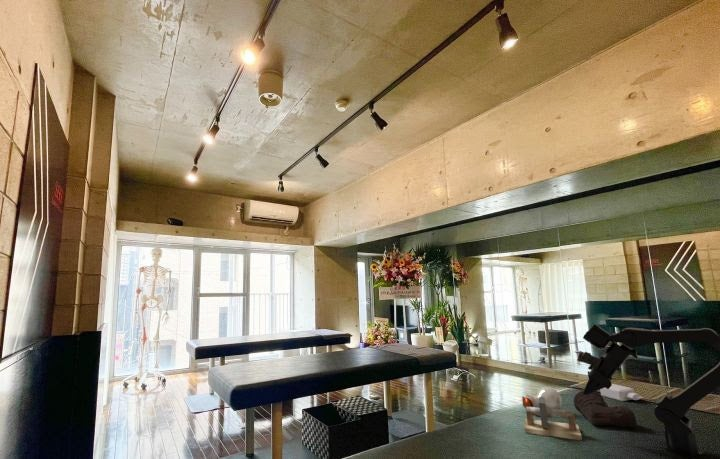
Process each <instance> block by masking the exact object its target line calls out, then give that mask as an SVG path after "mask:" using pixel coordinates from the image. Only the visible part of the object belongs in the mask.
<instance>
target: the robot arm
mask: <svg viewBox="0 0 720 459" xmlns="http://www.w3.org/2000/svg"><path fill="white" fill-rule="evenodd" d="M582 339H583V340H585V341H586V342H587V343H589V344H590V345H592V346H593V347H595V348H596V349H597V350H601V349H602V350H605V349H606V348H607V349H606V350H605V351H604V352H603V354H599V356H596V355H593V354H591V352H588V351H581V350H580V351H579V352H578V354H577V359H576V361H577V362H580V363H584V364H587V365H589V366H588V367H587V369H588V370H587V376H588V379H587V381H586V384H585V386H584V388H583V390H582V391H583V394H584V395H587V394H590V393H592V392H597V391H600V389H602V388H607V389H609V388H610V387H611V386H612V384H613V383H612V380H613V377H614V375H615V374H616V373H617V372H620V369H621V367H622V366H623V364H624V363H625V362H626V361H627V360H628V359H629V358H630V356H632V357H633V358H635V359H638V358H639V356H638V354H637V351H638V350H637V349H632V348H636V347H640V346H641V347H642V346H643V347H644V346H648V345H652V344H663V343H664V344H666V343H667V344H677V343H683V344H685V343H706V344H707V345H709V346H711V347H712V348H713V349H716V350H717V351H719V352H720V334H719V333H717V331H715V330H713V329H711V328H709V327H702V328H692V329H691V328H690V329H689V328H686V329H685V328H684V329H683V328H682V329H654V330H653V329H646V328H639V327H625V328H623V329H621V331H620V332H613V333H610V332H608V331H607V330H605V329H603V328H602V327H601V326H599V325H598V324H596V323H595V324H593V325H592V326H591V328H590V329H589V330H588V331H586V332H585V334H584V335H583V336H582ZM618 343H620V344H621V345H620V344H618ZM609 344H610V345H609ZM589 370H590V371H589ZM718 388H720V361H719V362H718V364H717V365H716V366H714V367H713V368H712V369H710V370H709V371H708V372H706V373H704V374H703V375H702V376H700V377H699V378H697V380H695V381H694V382H692V383H690V385H688V386H687V387H686V388H684V389H683V390H682V391H680V392H679V393H676V394H674V395H671V393H670V392H669V391H667V392H666V393H665V394H664V395H663V396H662V397H659V398H657V400H656V402H655V407H654V413H653V414H654V416H655V418H656V419H657V420H658V421H659V422H660V423H662V424H663V426H664V430H663V435H664V439H665V444H666V446H663V448H664V450H667V451H670V452H672V453H675V454H678V455H680V456H683V457H685V458H692V457H693V458H694V457H698V456H703V455H704V453H703V452H702V451H700V450H699V448H698V443H697V437H696V432H695V431H692V430H691V428H692V420H691V419H690V418H689V417H687V415H686V414H687V413H688V411H689V410H690V408H691V407H693V406H694V405H696V404H697V403H698V402H700V401H701V400H703V399H704V398H706V397H707V396H708V395H710V394H712V393H713V392H714V391H715V390H717V389H718Z"/></svg>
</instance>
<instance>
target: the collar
mask: <svg viewBox="0 0 720 459" xmlns="http://www.w3.org/2000/svg"><path fill="white" fill-rule="evenodd" d="M539 407H540V415H539V416H540V420H541V424H542V428H548V416H547V412H546V404H545V397H539Z"/></svg>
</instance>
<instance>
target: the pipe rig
mask: <svg viewBox="0 0 720 459" xmlns="http://www.w3.org/2000/svg"><path fill="white" fill-rule="evenodd" d="M525 412H526V418H524V434H533V435H539V436H547V437H548V436H549V437H554V438H563V439H570V440H578V441H583V437H582V434H581V431H580V427H579V425H578V424H576V417H575V412H574V410H564V409H560V410H555V409H546V412H547V417H551V418H552V417H553V418H559V419H560V418H562V419H567V423H566V422H558V421H548V428H542V424H541V419H534V416H540V408H536V407H526V409H525Z"/></svg>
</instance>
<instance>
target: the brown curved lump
mask: <svg viewBox="0 0 720 459" xmlns="http://www.w3.org/2000/svg"><path fill="white" fill-rule="evenodd" d="M573 405H574V409H576V410H577V412H579V413H580V414H581V415H583V416H584V417H585V418H586V419H587V420H588V421H589V422H590V423H591V424H592V425H595V426H616V427H619V428H625V429H627V428H629V429H631V428H635V427H637V425H638V424H637V423H638V421H637V418H636V416H635V413H634V411H633V410H632V409H631V408H630V406H629V407H628V406H626V405H615V406H614V405H613V406H609V405H608V404H607V402H606V401H605V399H604V396H602V395H601V393H599V392H597V391H595V392H592V393H590V394H587V395H584V394H583V390H580V391H579V392H577V393H576V394H575V395H574V397H573Z"/></svg>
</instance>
